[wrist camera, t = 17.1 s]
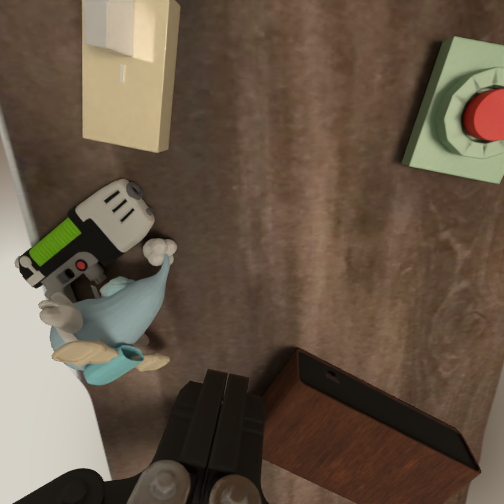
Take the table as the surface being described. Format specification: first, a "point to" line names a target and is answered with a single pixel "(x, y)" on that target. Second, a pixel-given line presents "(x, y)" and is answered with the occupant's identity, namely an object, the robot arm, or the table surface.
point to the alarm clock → (360, 438)
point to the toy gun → (88, 239)
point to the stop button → (486, 116)
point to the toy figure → (111, 322)
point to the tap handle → (110, 25)
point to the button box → (458, 113)
